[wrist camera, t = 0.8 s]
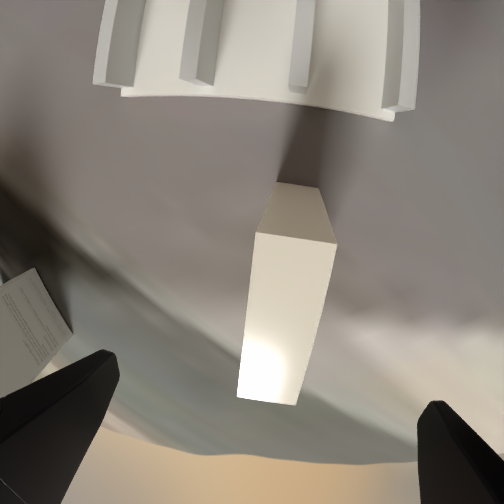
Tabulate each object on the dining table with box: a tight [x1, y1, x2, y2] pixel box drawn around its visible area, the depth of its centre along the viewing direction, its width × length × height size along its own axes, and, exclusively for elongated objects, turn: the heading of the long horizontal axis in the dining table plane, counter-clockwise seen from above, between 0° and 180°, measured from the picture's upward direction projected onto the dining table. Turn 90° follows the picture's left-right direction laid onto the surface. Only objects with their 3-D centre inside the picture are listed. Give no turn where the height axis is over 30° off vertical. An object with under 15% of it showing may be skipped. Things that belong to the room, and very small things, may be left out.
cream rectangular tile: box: [237, 182, 337, 405], centre depth 15 cm, size 2×7×9 cm, turn 175°
